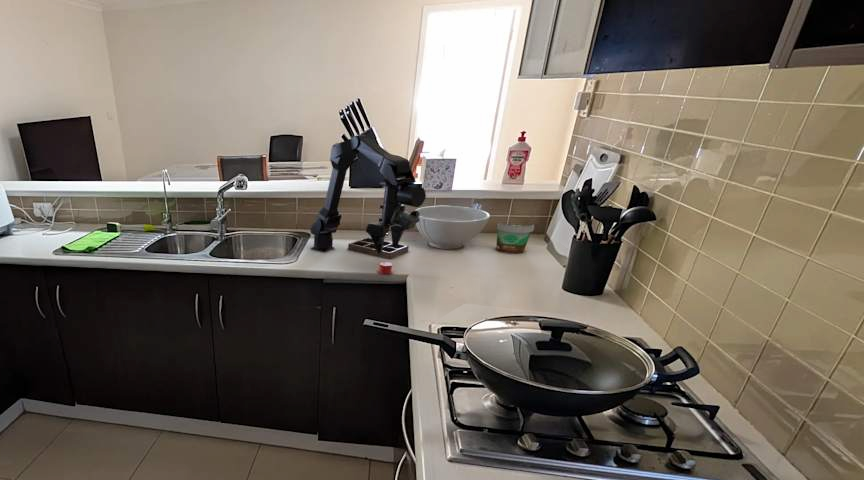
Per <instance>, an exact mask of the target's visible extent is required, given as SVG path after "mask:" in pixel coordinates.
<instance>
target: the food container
mask: <svg viewBox="0 0 864 480" xmlns="http://www.w3.org/2000/svg"><path fill="white" fill-rule="evenodd" d="M496 229H497V235H496V244H495V250H496V251H497V252H500V253H504V254H510V255H511V254H512V255H516V254H523V253H524V252H525V249H526V246H527V244H528V241H529V239H530V236H531V233H532V232H534V230H535V225H534V224H532V225H521V224H517V223H514V224H513V223H512V224H505V223H501V222H500V221H498V223H497V224H496Z"/></svg>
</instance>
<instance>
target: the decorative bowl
mask: <svg viewBox="0 0 864 480" xmlns="http://www.w3.org/2000/svg"><path fill="white" fill-rule="evenodd" d="M415 210H417V211H418V212H419V222H417V223H416V225H415V226H416V228H417V230H418V232H419V233H420V236H421V237H423V238H424V239H425V240H426V241H427V242H428V244H429V246H431V247H432V248H437V249H442V250H443V249H444V250H456V249H461V248H462V247H464V244H466V243H468V242H470V241H472V240H473V239H474V238H476V237H477V236H478V235H479V234H480V233H481V232H482V231H483V230H484V228H485V226H486V225H487V224H488V221H489V219H490V214H489V212H487V211H484V210H482V209H479V208H475V207H467V206H459V205H430V206H424V207H423V206H422V207H418V208H417V209H415Z"/></svg>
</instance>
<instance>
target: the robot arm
mask: <svg viewBox="0 0 864 480" xmlns="http://www.w3.org/2000/svg"><path fill="white" fill-rule="evenodd" d="M360 153H361V154H362V155H363V156H364V157H366V158H367V159H368V160H370V161H371V162H373V164H375V165H377V167H378V168H379V172H380V174H381V175H382V176H383V177H384V179H383V180H382V181H381V182H380V183H379V185H380V186H382V187H384V193H383V204H380V205H379V209H382V211H381V212H382V213H381V217H379V218H378V221H373V222H369V223H368V224H367V225H366V226H365V227H366V228H365V233H367V235H369V236H370V238H372V240H373V242H374V245H375V248H376V250H377V253H379V254H381V252H382V248H383V243H384V241H385V239H386V238H387V237H388V236H389V234H391V242H392V243H393V247H394V248H396V247H397V245H398V244H400V241H401V239H402V236H403V234H404V232H405V231H410V230H411V229H415V226H416V223H417V222H419V212H418V211H417V210H416V209H414V210H412V211H407V210H406V206H409V207H414V208H420V207H421V206H422V205H423V204H424V202H425V200H426V197H427V193H426V190H425V188H423V183H422V182H416V178H415V175H414V173H413V170H412V168H411V165H410V164H411V162H410V161H409V160H408V159H407V158H405V157H403V156H400V155H396V154H393V153H390V152H389V151H387V150H386V149H385V148H383V147H382V146H380V145H379V144H378V143H376V142H375V141H373V140H372V139H371V138H370V136H368V135H367V134H358V135H354V136H352V137H351V138H349V139H346V140H344V141H340V142H335V144H333V145H332V146H331V149H330V156H329V157H330V158H329V161H330V163H331V167H332V169H331V174H330V177H329V183H328V187H327V191H326V196H325V201H324V205H323V207H322V208H321V209H320V211H319V212H318V213H317V216H316V219H315V221H314V223H313V224H312V225H311V226H310V228H309V229H310V234H312V235H313V246H312V247H311V248H310V249H311V250H314V251H317V252H322V253H325V252H328V251H330V250H331V251H332V250H334V249H335V247H334V246H333V241H334V238H333V234H336V233H337V231H338V227H339V226H340V225H341V220H342V214H341V213H340V212H339V210H338V208H339V204H340V201H341V197H342V196H341V195H342V191H343V188H344V183H345V179H346V175H347V171H348V170H349V169H350V167H351V166H352V165H353V163H354V161H355V159H356V157H357V155H358V154H360ZM389 231H390V233H389Z"/></svg>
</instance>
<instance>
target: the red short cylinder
mask: <svg viewBox="0 0 864 480" xmlns="http://www.w3.org/2000/svg"><path fill="white" fill-rule="evenodd" d="M392 267H393V264H392V263H391V262H387V261H383V262H380V263H379V265H378V273H379V274H381V275H390V274H392V269H393V268H392Z"/></svg>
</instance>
